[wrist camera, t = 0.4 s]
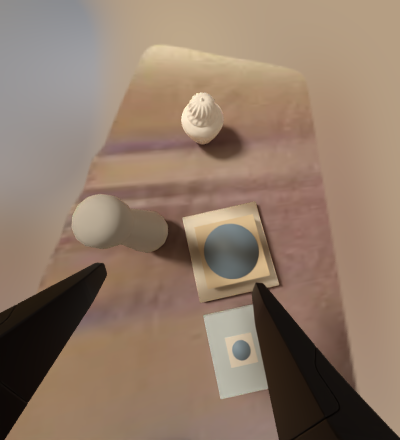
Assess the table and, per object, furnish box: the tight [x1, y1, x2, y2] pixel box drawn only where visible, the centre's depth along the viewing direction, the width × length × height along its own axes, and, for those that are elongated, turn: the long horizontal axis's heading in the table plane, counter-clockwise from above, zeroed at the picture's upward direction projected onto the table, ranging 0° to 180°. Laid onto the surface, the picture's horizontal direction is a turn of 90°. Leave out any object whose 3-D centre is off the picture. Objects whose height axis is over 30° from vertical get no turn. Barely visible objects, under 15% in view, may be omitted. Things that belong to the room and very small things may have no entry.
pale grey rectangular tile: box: [203, 304, 268, 399], centre depth 21 cm, size 10×8×1 cm
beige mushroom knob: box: [72, 194, 168, 253], centre depth 18 cm, size 6×6×13 cm
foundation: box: [183, 202, 279, 303], centre depth 22 cm, size 12×11×3 cm
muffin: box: [181, 92, 224, 144], centre depth 23 cm, size 6×6×7 cm
